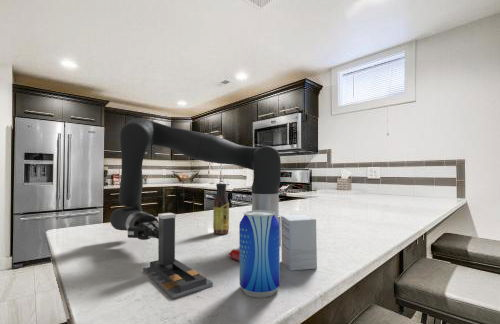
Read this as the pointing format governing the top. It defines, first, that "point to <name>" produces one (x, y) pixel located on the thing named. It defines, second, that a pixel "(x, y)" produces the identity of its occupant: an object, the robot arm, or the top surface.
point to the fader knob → (166, 239)
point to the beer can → (259, 253)
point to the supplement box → (299, 242)
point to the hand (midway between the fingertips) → (162, 235)
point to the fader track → (176, 278)
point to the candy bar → (235, 254)
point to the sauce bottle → (221, 211)
